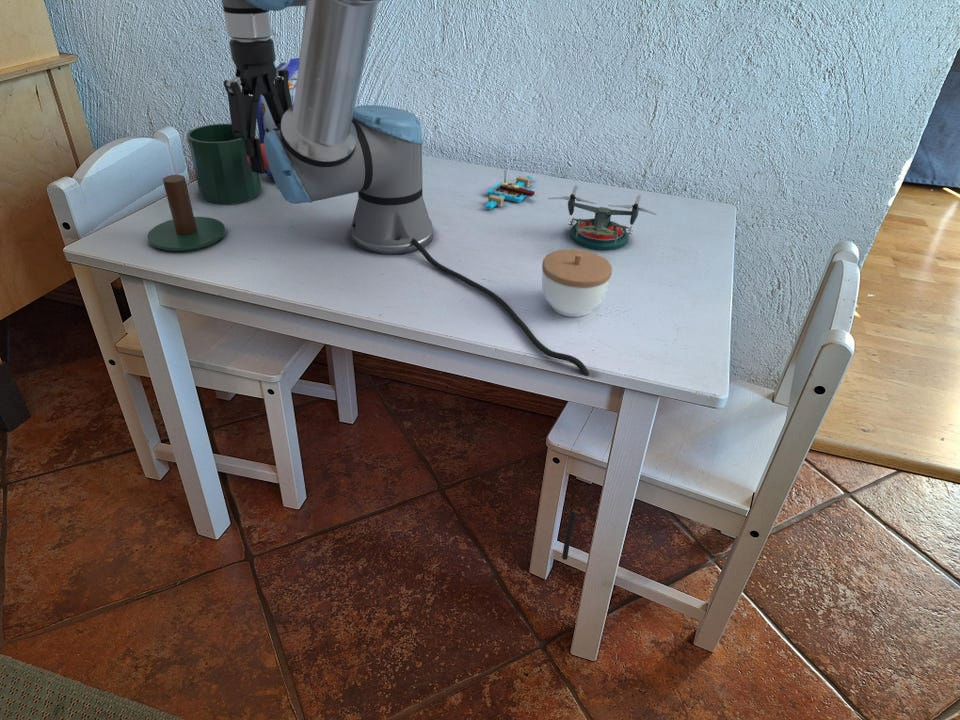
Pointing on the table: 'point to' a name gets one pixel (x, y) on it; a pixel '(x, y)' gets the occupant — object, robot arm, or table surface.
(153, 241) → the canister lid
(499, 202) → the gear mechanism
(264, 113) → the lunch box
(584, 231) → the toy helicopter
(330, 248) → the table surface
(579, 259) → the trinket box
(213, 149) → the canister
